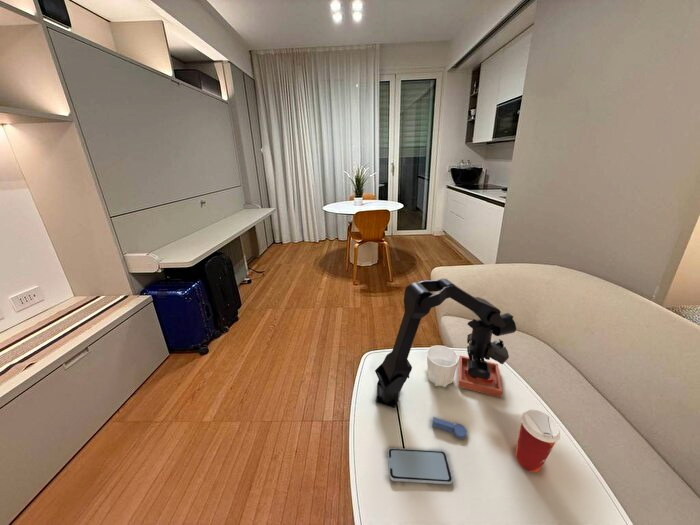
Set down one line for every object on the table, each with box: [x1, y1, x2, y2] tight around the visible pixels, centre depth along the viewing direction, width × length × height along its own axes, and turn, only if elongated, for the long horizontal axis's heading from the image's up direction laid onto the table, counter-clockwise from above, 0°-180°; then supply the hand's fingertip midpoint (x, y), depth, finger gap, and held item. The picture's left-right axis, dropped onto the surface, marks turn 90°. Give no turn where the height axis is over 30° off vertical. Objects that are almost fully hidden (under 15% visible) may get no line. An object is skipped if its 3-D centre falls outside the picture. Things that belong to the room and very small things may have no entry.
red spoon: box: [465, 367, 494, 383], centre depth 91 cm, size 9×4×2 cm, turn 68°
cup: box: [426, 344, 459, 388], centre depth 91 cm, size 10×10×10 cm
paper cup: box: [514, 409, 561, 473], centre depth 65 cm, size 8×8×14 cm
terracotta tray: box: [457, 355, 503, 398], centre depth 92 cm, size 13×13×3 cm
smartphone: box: [387, 447, 453, 485], centre depth 67 cm, size 7×1×15 cm
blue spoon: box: [431, 416, 468, 440], centre depth 75 cm, size 9×4×2 cm, turn 68°
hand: (473, 373), depth 92 cm, fingers open, 4 cm apart
